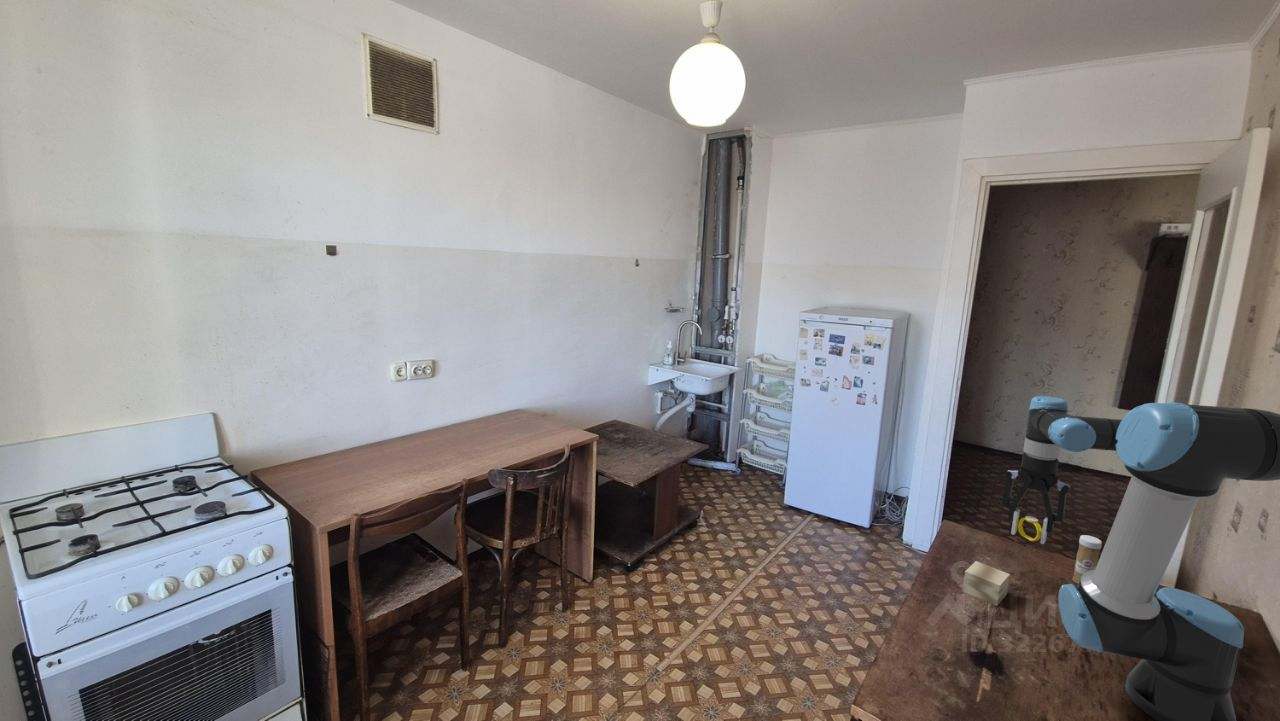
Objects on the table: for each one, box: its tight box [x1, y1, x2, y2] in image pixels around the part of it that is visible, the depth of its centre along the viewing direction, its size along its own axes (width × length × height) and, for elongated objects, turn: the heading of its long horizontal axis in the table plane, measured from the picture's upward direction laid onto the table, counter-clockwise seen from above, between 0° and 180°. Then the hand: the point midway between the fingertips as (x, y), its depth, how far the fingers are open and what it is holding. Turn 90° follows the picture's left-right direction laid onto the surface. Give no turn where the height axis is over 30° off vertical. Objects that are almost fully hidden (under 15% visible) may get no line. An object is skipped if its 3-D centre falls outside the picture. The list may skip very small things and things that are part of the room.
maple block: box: [962, 560, 1011, 607], centre depth 138 cm, size 8×8×6 cm
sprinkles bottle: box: [1072, 534, 1103, 585], centre depth 141 cm, size 5×5×13 cm
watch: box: [1017, 515, 1042, 542], centre depth 138 cm, size 6×3×6 cm, turn 12°
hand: (1028, 537), depth 138 cm, fingers closed on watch, 6 cm apart
